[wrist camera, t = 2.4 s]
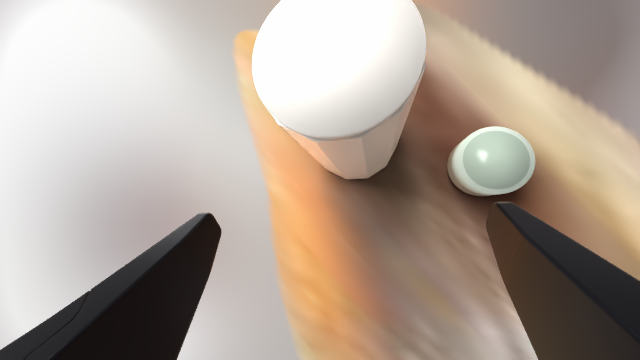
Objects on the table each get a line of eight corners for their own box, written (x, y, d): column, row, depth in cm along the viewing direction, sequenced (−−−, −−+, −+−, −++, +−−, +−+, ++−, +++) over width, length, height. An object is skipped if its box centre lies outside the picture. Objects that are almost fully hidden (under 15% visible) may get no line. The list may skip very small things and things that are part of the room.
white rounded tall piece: (398, 176, 20) (434, 127, 8) (318, 181, 21) (251, 144, 10) (392, 98, 21) (418, -46, 9) (315, 107, 22) (251, -8, 10)
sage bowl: (513, 195, 18) (540, 192, 15) (448, 198, 19) (461, 195, 16) (505, 136, 19) (530, 122, 16) (442, 142, 20) (454, 129, 17)
